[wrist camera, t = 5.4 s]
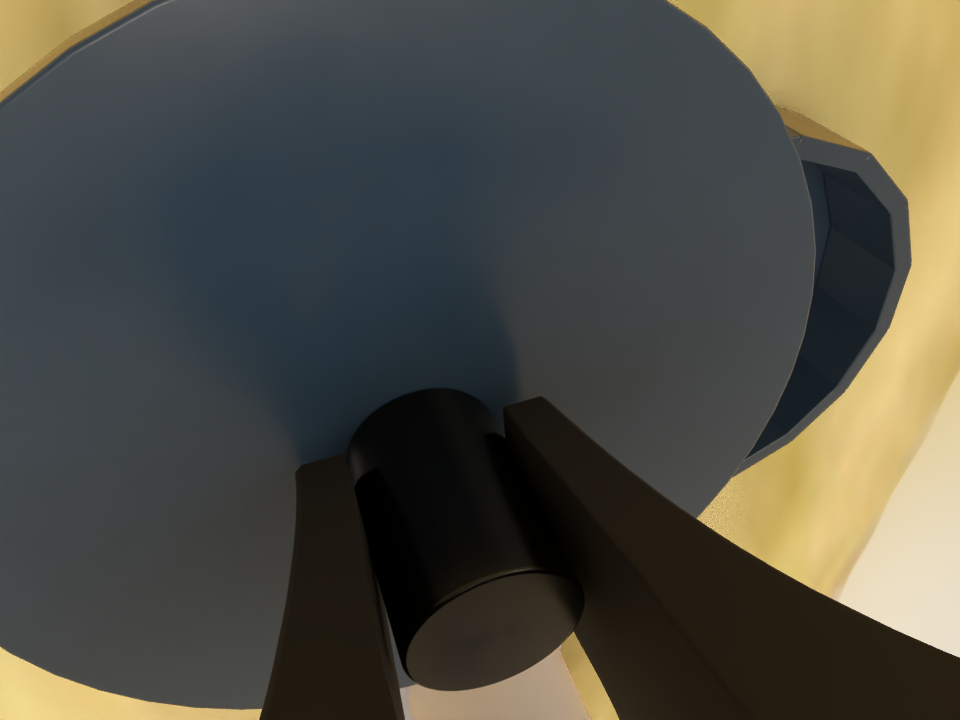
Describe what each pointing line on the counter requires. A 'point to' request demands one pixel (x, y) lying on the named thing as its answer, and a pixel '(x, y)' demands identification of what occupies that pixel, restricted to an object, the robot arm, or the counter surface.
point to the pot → (840, 275)
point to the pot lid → (367, 314)
